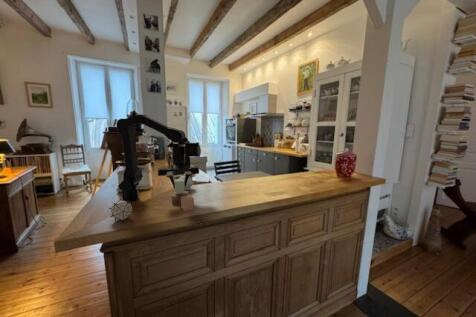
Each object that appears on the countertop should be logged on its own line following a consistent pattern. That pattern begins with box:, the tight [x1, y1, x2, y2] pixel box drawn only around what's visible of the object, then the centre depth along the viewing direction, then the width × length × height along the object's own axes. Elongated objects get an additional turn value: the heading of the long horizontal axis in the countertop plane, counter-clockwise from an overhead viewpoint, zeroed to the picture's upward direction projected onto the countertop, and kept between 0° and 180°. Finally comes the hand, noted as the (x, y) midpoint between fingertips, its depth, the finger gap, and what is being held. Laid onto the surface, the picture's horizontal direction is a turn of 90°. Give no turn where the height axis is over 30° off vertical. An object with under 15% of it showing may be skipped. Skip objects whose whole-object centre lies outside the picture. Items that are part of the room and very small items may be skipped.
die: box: [178, 175, 194, 191], centre depth 117 cm, size 8×9×10 cm
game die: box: [108, 197, 136, 223], centre depth 78 cm, size 9×8×10 cm
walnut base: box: [171, 190, 189, 205], centre depth 99 cm, size 7×7×4 cm
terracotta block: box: [180, 194, 195, 212], centre depth 91 cm, size 4×4×5 cm
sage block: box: [174, 178, 186, 192], centre depth 98 cm, size 4×4×5 cm
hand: (179, 188), depth 99 cm, fingers closed on sage block, 4 cm apart
